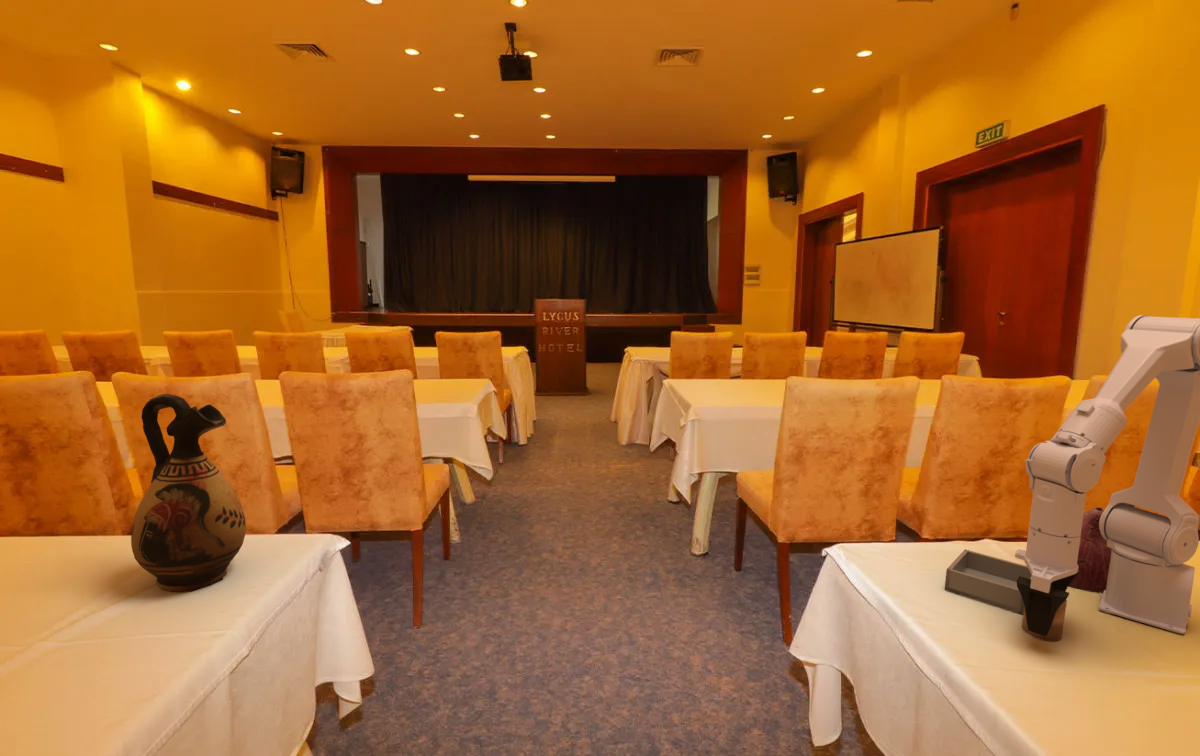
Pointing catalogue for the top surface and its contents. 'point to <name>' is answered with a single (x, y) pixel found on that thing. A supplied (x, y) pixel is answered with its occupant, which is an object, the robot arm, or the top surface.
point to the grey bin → (987, 580)
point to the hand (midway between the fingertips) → (1042, 621)
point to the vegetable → (1092, 555)
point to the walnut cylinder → (1056, 626)
